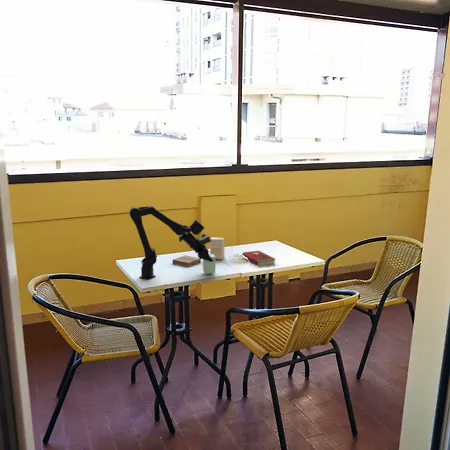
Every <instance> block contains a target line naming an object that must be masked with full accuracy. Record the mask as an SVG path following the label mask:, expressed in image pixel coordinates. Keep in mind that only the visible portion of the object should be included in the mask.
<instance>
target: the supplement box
mask: <svg viewBox="0 0 450 450" xmlns="http://www.w3.org/2000/svg"><path fill="white" fill-rule="evenodd" d="M210 240H211V242H209V248H210V251H209V254H214V256H215V260H220V261H223V260H224V259H225V257H226V256H225V238H224V237H213V236H212V237H211V238H210Z"/></svg>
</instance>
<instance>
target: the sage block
mask: <svg viewBox="0 0 450 450" xmlns="http://www.w3.org/2000/svg"><path fill="white" fill-rule="evenodd" d="M208 254H209V255H210V257H211V258H212V260H213V262H210V261H207V260H204V259H202V272H203V273H204V274H216V259H215V256H214V254H210V253H208Z"/></svg>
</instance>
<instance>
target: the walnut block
mask: <svg viewBox="0 0 450 450" xmlns="http://www.w3.org/2000/svg"><path fill="white" fill-rule="evenodd" d="M201 262H202V259H200V258H199V257H195V256H190V255H182V256H180V257H176V258H174V259H172V265H177V266H180V267H186V268H190V267H193V266H195V265H198V264H201Z"/></svg>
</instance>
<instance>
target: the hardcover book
mask: <svg viewBox="0 0 450 450" xmlns="http://www.w3.org/2000/svg"><path fill="white" fill-rule="evenodd" d="M242 255H244V256H245V257H247V258H248V260H249V261H250V262H249V261H248V262H249V263H251V264H253V265H254V264H255V266H256V265H257V267H263V266H262V265H265V266H269V265H268V264H273V265H276V264H275V263H276V261H275V260H276V258H275V257H273V256H271V255H270V254H267V253H266V252H263V251H261V250H253V251H243V252H242V254H241V256H242Z"/></svg>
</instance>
